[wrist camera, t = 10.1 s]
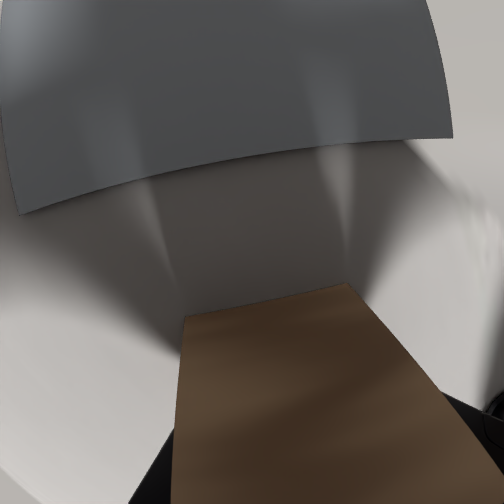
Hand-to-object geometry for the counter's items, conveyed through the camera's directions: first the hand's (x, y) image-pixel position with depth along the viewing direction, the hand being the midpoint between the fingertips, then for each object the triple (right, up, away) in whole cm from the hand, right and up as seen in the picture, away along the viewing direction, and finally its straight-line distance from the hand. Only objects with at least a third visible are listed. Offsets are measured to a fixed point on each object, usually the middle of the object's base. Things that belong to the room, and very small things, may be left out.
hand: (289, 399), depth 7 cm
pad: (-2, +11, -2) cm, 11 cm away
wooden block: (0, +1, +1) cm, 2 cm away
